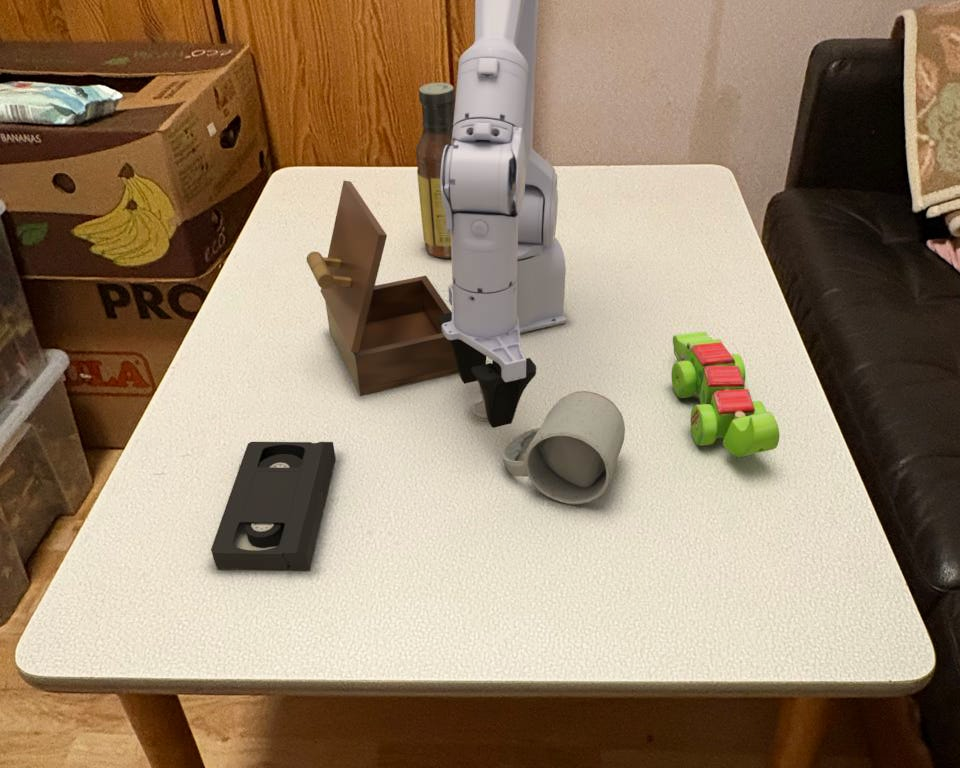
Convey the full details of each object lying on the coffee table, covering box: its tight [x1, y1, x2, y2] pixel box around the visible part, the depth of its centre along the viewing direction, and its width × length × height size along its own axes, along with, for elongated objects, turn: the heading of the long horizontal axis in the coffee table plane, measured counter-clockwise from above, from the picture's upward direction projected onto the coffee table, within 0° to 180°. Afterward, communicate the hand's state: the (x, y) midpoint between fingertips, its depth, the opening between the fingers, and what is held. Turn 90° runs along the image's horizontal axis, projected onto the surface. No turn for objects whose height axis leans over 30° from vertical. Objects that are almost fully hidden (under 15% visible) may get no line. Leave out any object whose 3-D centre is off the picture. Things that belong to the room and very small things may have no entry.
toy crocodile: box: [671, 331, 781, 458], centre depth 88 cm, size 20×7×6 cm, turn 5°
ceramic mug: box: [501, 390, 626, 505], centre depth 81 cm, size 11×8×8 cm
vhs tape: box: [210, 441, 337, 571], centre depth 80 cm, size 14×8×2 cm, turn 178°
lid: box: [306, 180, 388, 353], centre depth 90 cm, size 12×13×4 cm
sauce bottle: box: [415, 82, 456, 259], centre depth 109 cm, size 6×6×20 cm
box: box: [324, 275, 459, 396], centre depth 97 cm, size 12×13×5 cm
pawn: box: [472, 386, 489, 423], centre depth 89 cm, size 3×3×4 cm
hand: (486, 401), depth 89 cm, fingers open, 7 cm apart
